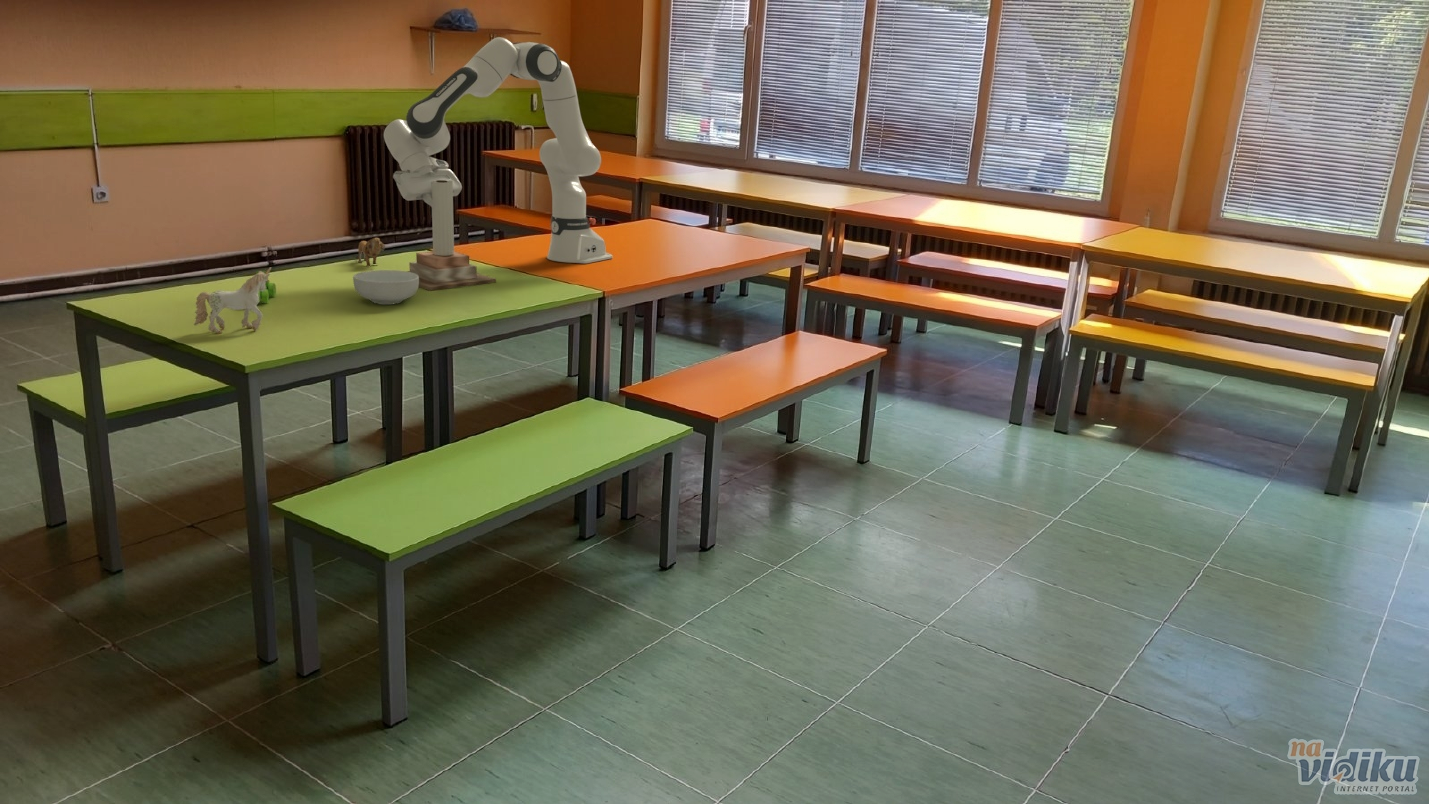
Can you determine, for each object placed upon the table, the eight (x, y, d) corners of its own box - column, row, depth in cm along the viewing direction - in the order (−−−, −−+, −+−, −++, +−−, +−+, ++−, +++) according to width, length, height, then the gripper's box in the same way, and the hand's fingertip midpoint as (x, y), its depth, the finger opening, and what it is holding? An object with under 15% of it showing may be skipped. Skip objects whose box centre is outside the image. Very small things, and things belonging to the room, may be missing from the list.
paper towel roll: (439, 257, 305) (437, 182, 298) (429, 253, 309) (427, 180, 303) (461, 255, 310) (460, 181, 303) (451, 251, 314) (449, 179, 307)
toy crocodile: (262, 309, 268) (261, 286, 266) (235, 309, 266) (233, 285, 265) (280, 292, 286) (278, 270, 284) (254, 291, 285) (252, 269, 283)
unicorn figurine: (288, 327, 253) (284, 272, 249) (206, 339, 239) (200, 281, 235) (275, 320, 257) (271, 267, 253) (193, 332, 244) (187, 275, 240)
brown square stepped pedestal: (455, 269, 327) (454, 245, 324) (495, 282, 312) (495, 257, 310) (390, 276, 312) (389, 251, 309) (430, 290, 297) (429, 264, 295)
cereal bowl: (432, 301, 286) (432, 275, 284) (385, 311, 272) (384, 285, 270) (388, 291, 294) (387, 266, 292) (340, 301, 280) (339, 275, 278)
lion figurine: (388, 267, 324) (387, 238, 321) (372, 269, 320) (371, 239, 317) (363, 259, 333) (362, 230, 330) (348, 260, 329) (346, 232, 326)
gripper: (395, 164, 297) (419, 203, 295) (450, 161, 313) (474, 198, 311) (385, 179, 301) (409, 217, 298) (441, 174, 317) (464, 211, 315)
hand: (443, 207), depth 305 cm, fingers closed on paper towel roll, 3 cm apart
